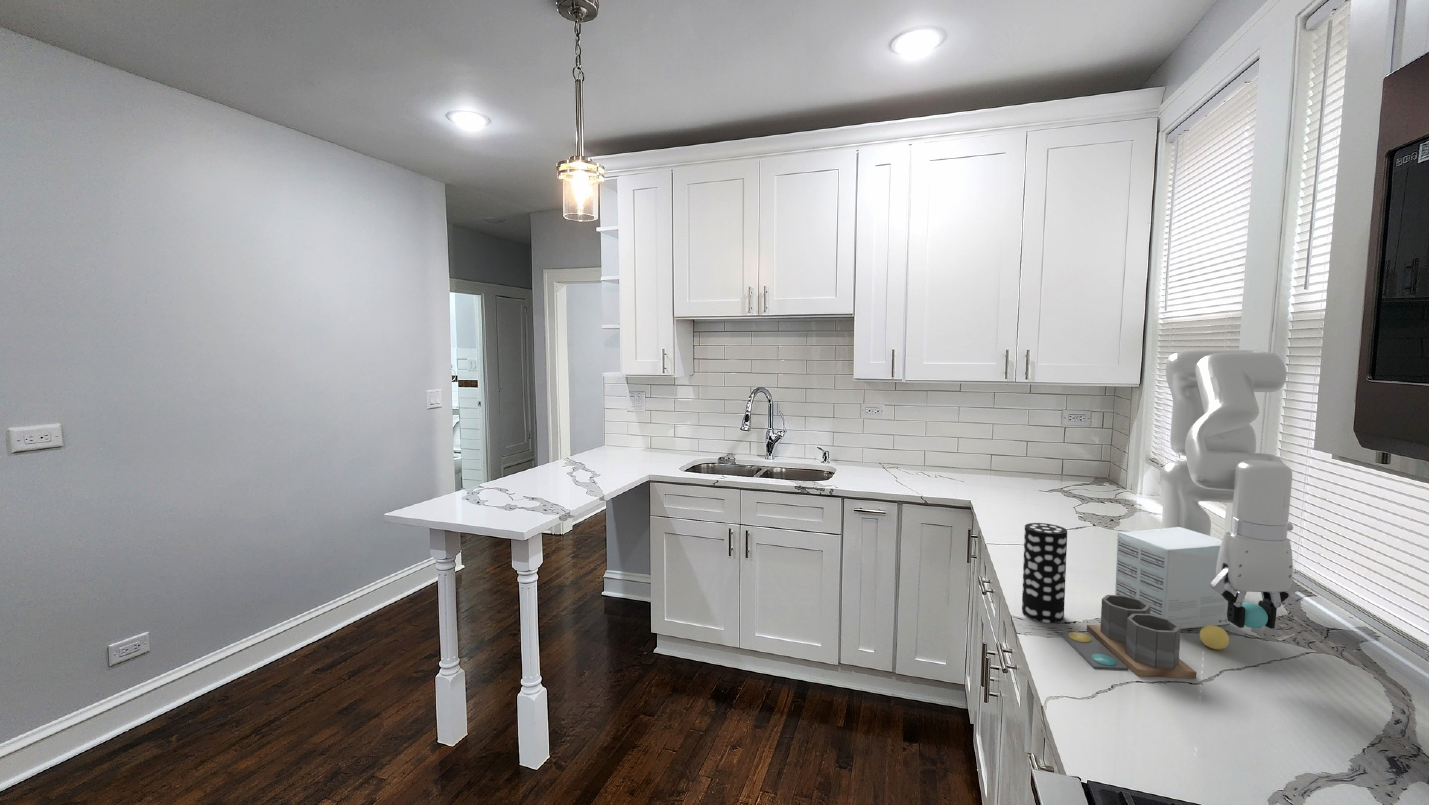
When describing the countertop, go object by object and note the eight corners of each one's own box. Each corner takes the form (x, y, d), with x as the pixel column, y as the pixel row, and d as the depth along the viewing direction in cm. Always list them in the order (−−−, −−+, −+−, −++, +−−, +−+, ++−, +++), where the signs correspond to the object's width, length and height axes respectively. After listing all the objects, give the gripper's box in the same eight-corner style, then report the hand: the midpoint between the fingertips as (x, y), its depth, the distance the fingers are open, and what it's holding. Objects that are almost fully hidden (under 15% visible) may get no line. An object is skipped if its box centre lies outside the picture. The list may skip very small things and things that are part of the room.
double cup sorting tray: (1136, 631, 126) (1138, 594, 125) (1196, 678, 108) (1198, 634, 107) (1086, 630, 127) (1088, 592, 126) (1137, 675, 109) (1139, 632, 108)
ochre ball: (1217, 643, 120) (1218, 621, 120) (1234, 654, 116) (1235, 632, 116) (1193, 642, 121) (1194, 620, 121) (1209, 653, 116) (1210, 631, 116)
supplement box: (1174, 600, 141) (1179, 525, 140) (1232, 625, 128) (1237, 543, 127) (1111, 606, 138) (1115, 530, 137) (1163, 632, 125) (1168, 549, 124)
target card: (1089, 634, 125) (1089, 631, 125) (1128, 669, 111) (1128, 666, 111) (1058, 633, 125) (1059, 630, 125) (1094, 668, 111) (1094, 665, 111)
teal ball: (1253, 621, 112) (1255, 598, 111) (1273, 633, 107) (1275, 609, 107) (1228, 620, 112) (1229, 598, 112) (1246, 632, 108) (1248, 609, 107)
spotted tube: (1059, 609, 137) (1062, 524, 135) (1067, 625, 129) (1071, 535, 127) (1019, 604, 139) (1021, 521, 138) (1025, 620, 132) (1028, 532, 130)
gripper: (1291, 522, 110) (1283, 616, 112) (1193, 522, 112) (1187, 614, 114) (1328, 536, 103) (1319, 636, 105) (1223, 535, 105) (1215, 633, 107)
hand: (1250, 623), depth 110 cm, fingers closed on teal ball, 4 cm apart
